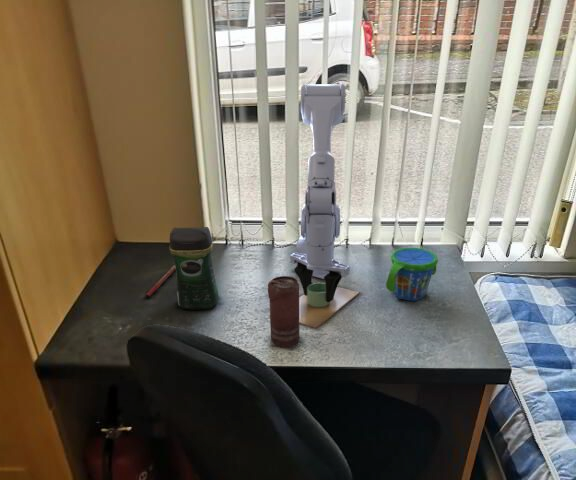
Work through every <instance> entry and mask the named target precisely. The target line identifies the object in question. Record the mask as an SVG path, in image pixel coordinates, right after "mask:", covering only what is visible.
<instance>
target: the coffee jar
mask: <svg viewBox="0 0 576 480" xmlns="http://www.w3.org/2000/svg"><path fill="white" fill-rule="evenodd" d="M211 234H212V233H211V230H210V228H209V227H208V226H203V227H202V226H201V227H173V228H172V229H171V231H170V233H169V252H170V254H171V255H172V257H173V260H174V265H175V267H176V268H175V275H176V298H177V304H178V307H180V308H181V309H183V310H190V311H191V310H208V309H212V308H214V307H215V306H217V304H218V303H219V297H220V296H219V291H218V286H217V281H216V277H215V273H214V268H213V261H212V251H213V247H214V241H213V238H212V235H211Z"/></svg>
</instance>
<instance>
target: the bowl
mask: <svg viewBox="0 0 576 480" xmlns="http://www.w3.org/2000/svg"><path fill="white" fill-rule="evenodd" d="M307 303H308V304H309V305H311V306H312V307H316V308H321V307H325V306H327V305H328V304H329V303H330V302H327V301H326V284H325V282H323V283H320V282H312V284H310V285H308V287H307Z"/></svg>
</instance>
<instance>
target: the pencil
mask: <svg viewBox="0 0 576 480" xmlns="http://www.w3.org/2000/svg"><path fill="white" fill-rule="evenodd" d="M174 271H176V267H175V264H174V265H173V266H171V267H170V268H169V269H168V271H166V273H165V274H164V275H162V277H161V278H160V279H159V280H158V281H157V282H156V283H155V284H154V286H152V288H151V289H149V290H148V292H147V293H146V294H145V298H147V299H150V297H151V296H152V295H153V294H154V293H155V292H156V291H157V290H158V289H159V287H160V286H161V285H162V284H163V283H164V282H165V281H166V280H167V279H168V278H169V277H170V276H171V274H173V273H174Z"/></svg>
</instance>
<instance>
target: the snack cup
mask: <svg viewBox="0 0 576 480" xmlns="http://www.w3.org/2000/svg"><path fill="white" fill-rule="evenodd" d="M390 261H391V263H392V265H391V267H390V270H389V272H388V275H387V279H386V283H385V287H386V289H387V290H388V291H389V292H391V293H394V295H395V296H396V297H397V298H398V299H399V300H404V301H411V302H412V301H413V302H416V301H420V300H423V298H424V297H425V296H426V294H427V291H428V289H429V285H430V282H431V279H432V275H433V276H434V275H435V274H436V273H437V264H438V263H439V259H438V257H437V255H436V253H434V252H433V251H431V250H428V249H425V248H420V247H403V248H398V249H396V250H394V251H393V252H392V253H391V254H390Z"/></svg>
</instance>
